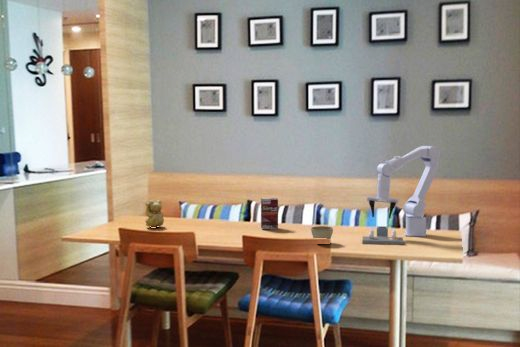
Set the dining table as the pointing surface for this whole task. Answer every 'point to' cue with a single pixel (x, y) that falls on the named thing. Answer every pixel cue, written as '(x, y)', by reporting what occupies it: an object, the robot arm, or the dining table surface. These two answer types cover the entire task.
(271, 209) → the supplement box
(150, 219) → the decorative figurine
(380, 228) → the sleeve
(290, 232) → the dining table surface
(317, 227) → the flower pot
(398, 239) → the pin board
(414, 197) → the robot arm
